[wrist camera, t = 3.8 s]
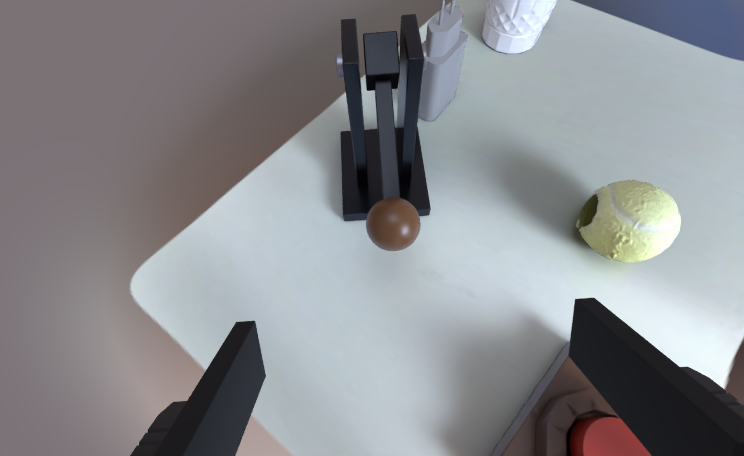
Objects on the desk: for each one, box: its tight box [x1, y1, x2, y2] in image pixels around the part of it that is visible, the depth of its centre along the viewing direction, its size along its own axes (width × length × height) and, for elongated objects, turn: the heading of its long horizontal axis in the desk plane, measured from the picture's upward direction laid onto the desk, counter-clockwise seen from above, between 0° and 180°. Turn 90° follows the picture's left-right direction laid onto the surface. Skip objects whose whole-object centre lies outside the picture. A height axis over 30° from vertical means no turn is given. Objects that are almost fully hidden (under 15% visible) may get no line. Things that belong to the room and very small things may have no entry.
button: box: [569, 416, 652, 456], centre depth 21 cm, size 4×4×2 cm
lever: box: [363, 31, 420, 251], centre depth 24 cm, size 14×4×4 cm, turn 4°
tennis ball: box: [576, 180, 681, 262], centre depth 29 cm, size 6×7×7 cm
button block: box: [490, 341, 621, 456], centre depth 23 cm, size 12×8×4 cm, turn 137°
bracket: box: [336, 14, 430, 221], centre depth 29 cm, size 10×8×15 cm
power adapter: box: [418, 0, 468, 121], centre depth 34 cm, size 3×5×12 cm, turn 143°
